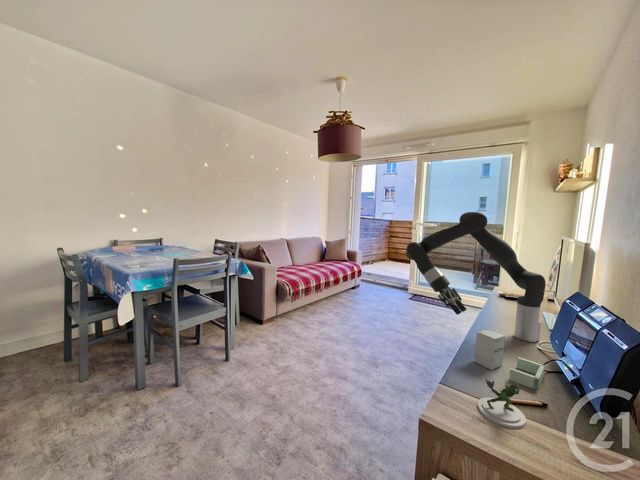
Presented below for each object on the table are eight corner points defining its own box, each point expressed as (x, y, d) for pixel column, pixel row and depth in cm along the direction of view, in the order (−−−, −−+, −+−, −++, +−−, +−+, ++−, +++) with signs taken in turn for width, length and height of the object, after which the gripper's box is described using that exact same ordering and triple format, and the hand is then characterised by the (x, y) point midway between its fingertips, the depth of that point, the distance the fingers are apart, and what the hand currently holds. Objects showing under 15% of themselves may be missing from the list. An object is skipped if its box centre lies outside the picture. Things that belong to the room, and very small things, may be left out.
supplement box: (491, 370, 106) (494, 338, 105) (473, 361, 112) (475, 331, 111) (502, 366, 109) (505, 335, 108) (484, 357, 116) (486, 328, 115)
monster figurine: (523, 435, 74) (527, 399, 73) (473, 413, 82) (476, 380, 81) (527, 412, 83) (530, 380, 82) (481, 395, 91) (484, 365, 90)
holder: (509, 379, 100) (510, 369, 100) (517, 366, 109) (518, 357, 109) (537, 390, 94) (538, 379, 94) (543, 375, 103) (544, 365, 103)
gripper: (435, 276, 118) (463, 311, 110) (448, 272, 128) (475, 304, 120) (422, 286, 122) (448, 320, 114) (436, 282, 132) (461, 313, 124)
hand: (462, 312), depth 117 cm, fingers open, 5 cm apart
